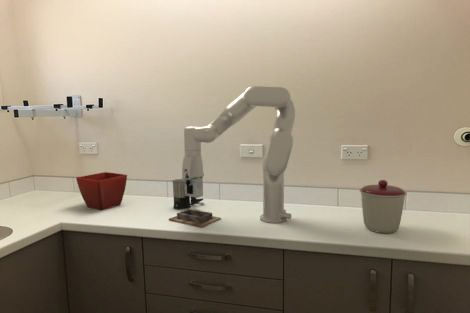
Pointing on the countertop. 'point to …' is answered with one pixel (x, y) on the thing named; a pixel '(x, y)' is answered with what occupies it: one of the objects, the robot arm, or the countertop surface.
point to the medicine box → (195, 188)
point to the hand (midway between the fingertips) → (193, 192)
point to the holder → (195, 218)
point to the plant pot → (102, 189)
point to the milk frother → (182, 196)
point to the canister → (382, 207)
